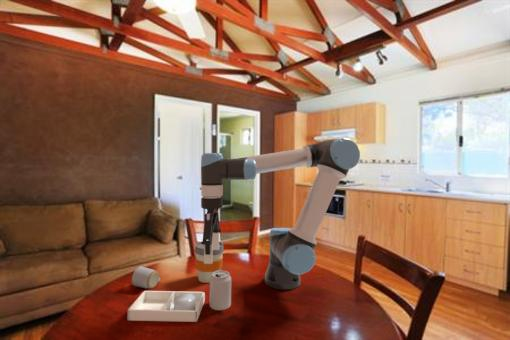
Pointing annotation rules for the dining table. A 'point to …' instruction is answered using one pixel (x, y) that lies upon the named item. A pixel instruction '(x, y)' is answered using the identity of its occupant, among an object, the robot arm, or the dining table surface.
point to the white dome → (184, 302)
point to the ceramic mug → (145, 277)
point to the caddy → (163, 307)
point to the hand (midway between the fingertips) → (212, 256)
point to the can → (220, 290)
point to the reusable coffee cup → (208, 269)
